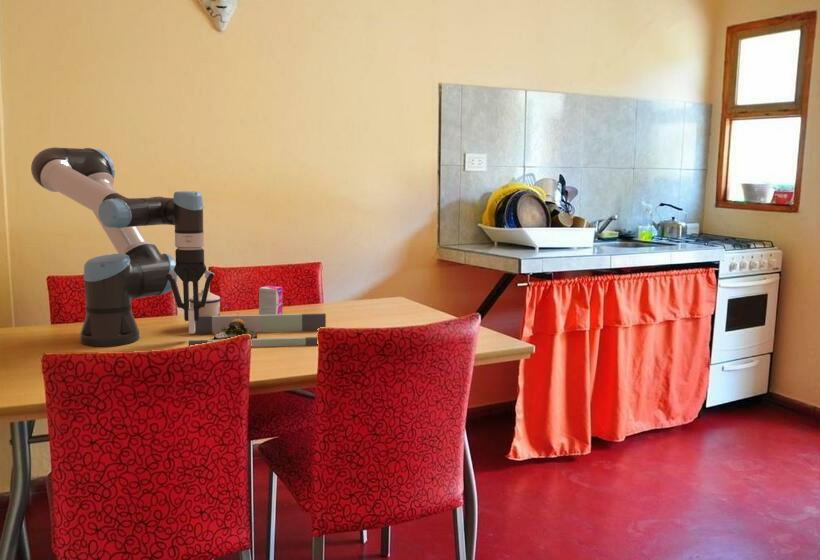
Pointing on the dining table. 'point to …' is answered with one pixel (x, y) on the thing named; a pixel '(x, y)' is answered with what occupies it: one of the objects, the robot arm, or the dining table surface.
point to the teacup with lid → (208, 305)
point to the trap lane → (264, 327)
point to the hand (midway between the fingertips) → (192, 332)
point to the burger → (234, 330)
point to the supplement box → (270, 300)
